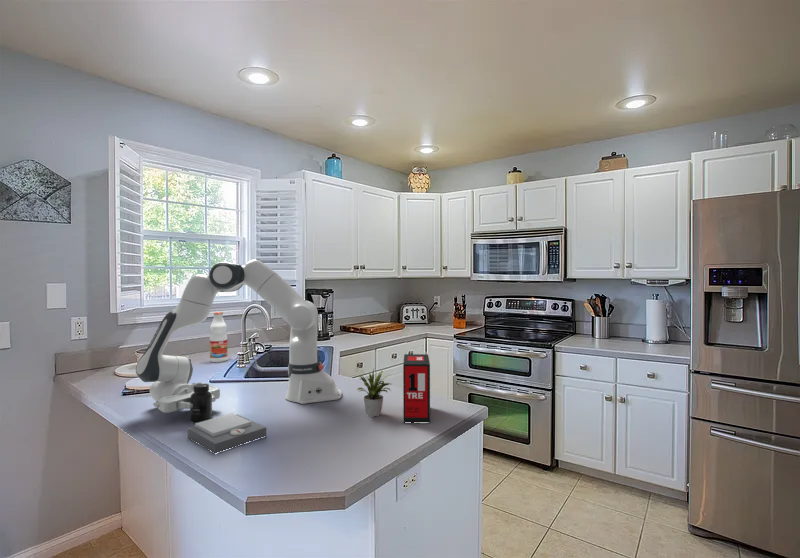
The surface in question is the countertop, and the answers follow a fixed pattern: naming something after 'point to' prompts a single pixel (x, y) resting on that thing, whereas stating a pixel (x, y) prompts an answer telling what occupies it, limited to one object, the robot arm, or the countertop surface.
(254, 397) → the countertop surface
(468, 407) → the countertop surface
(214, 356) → the fruit juice
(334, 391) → the robot arm
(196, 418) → the supplement bottle
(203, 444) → the kitchen scale
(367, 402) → the house plant
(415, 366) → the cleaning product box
